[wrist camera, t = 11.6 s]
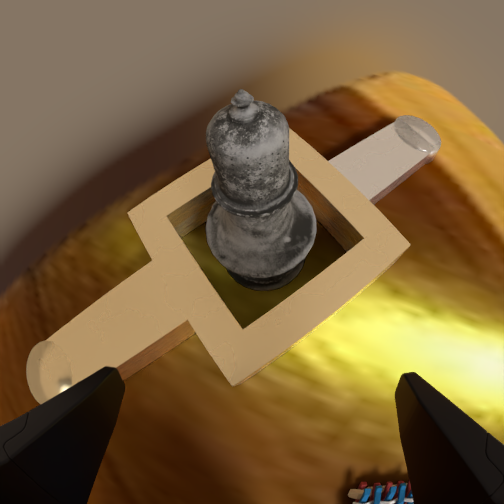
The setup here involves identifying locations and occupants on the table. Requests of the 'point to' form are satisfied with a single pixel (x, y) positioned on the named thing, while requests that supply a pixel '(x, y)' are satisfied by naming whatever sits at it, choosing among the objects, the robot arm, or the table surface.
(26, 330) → the table surface
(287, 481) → the table surface
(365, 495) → the woven mat
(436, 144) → the cream handled frame
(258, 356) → the square wooden loop
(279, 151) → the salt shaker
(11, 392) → the table surface
